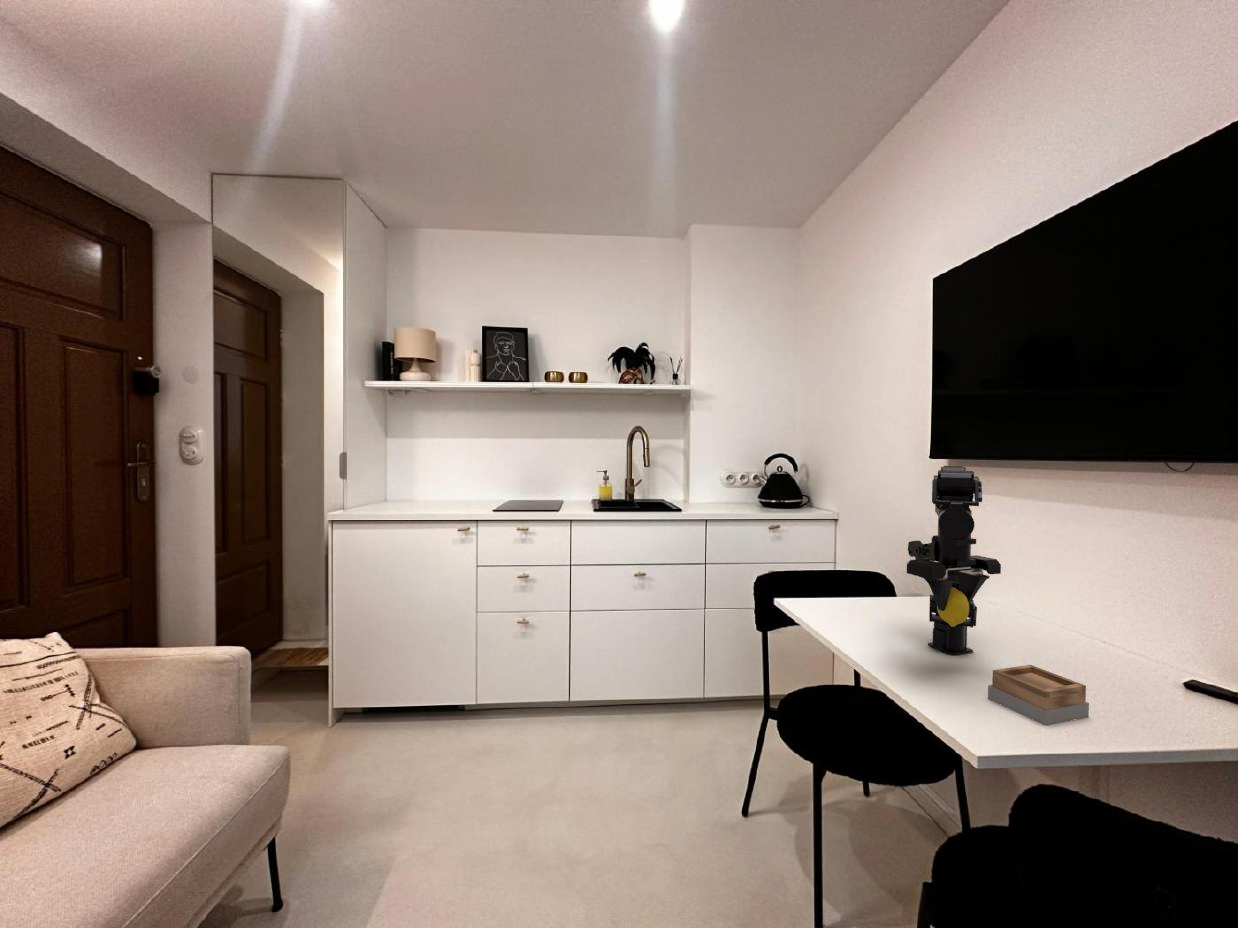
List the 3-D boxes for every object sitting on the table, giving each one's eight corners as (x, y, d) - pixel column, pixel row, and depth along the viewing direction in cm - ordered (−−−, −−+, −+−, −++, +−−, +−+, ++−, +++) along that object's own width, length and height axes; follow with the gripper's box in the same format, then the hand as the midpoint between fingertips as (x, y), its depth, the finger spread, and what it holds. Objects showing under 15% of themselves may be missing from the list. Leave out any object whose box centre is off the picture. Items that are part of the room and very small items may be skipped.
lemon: (964, 623, 111) (965, 585, 110) (972, 632, 105) (973, 591, 105) (933, 621, 112) (934, 583, 112) (940, 629, 107) (940, 589, 107)
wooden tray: (1030, 680, 100) (1030, 664, 99) (1085, 703, 91) (1086, 685, 91) (992, 686, 97) (992, 670, 97) (1045, 710, 88) (1045, 692, 88)
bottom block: (1028, 694, 100) (1028, 678, 100) (1088, 720, 91) (1088, 702, 91) (987, 701, 98) (988, 685, 98) (1045, 728, 88) (1046, 710, 88)
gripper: (954, 525, 119) (953, 595, 119) (886, 528, 113) (884, 601, 114) (1003, 532, 108) (1001, 609, 109) (930, 536, 103) (929, 617, 103)
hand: (952, 609), depth 109 cm, fingers closed on lemon, 5 cm apart
